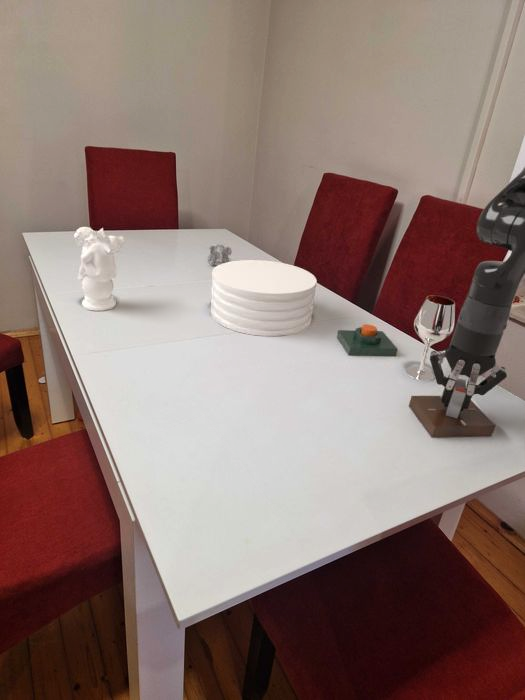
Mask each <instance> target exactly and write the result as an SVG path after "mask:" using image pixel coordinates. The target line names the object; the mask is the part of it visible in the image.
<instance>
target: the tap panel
mask: <svg viewBox="0 0 525 700" xmlns="http://www.w3.org/2000/svg"><path fill="white" fill-rule="evenodd" d="M441 400H442V395H411V396H410V400H409V403H408V408H409V409H410V410H411V412H412V413H413V414H414V416H415V417H416V418H417V420H418V421H419V422H420V424H421V426H423V428H424V429H425V430H426V432H427V433H428V435H429V436H430V437H431V438H472V437H473V438H477V437H478V438H481V437H483V438H484V437H488V438H489V437H492V436H493V434H494V431H495V429H496V426H497V425H496V424H495V423H494V422H493V421H492V419H490V418H489V417H488V416H487V415H486V414H485V413H484V411H482V410H481V409H480V408H479V407H478V406H477V405H476V403H475V402H473V400H471V401H470V404H469V406H468V408H467V409H463V411H460V413H459V415H458V418H453V417H450V416H446V411H447V407H445V406H444V403H442V401H441Z"/></svg>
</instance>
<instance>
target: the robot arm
mask: <svg viewBox="0 0 525 700" xmlns="http://www.w3.org/2000/svg"><path fill="white" fill-rule="evenodd" d="M475 230H476V235H477V238H478V239H479V241H480V242H482V243H483V244H485V245H488V246H491V247H496V248H500V249H503V250H506V251H510V252H511V253H510V255H509V256H508V257H507V259H506V260H505V261H501V260H500V261H499V260H484V261H481V262H480V263H478V265H477V266H476V268H475V269H474V273H473V276H472V278H471V282H470V285H469V289H468V291H467V294H466V297H465V299H464V301H463V303H462V305H461V308H460V312H459V315H458V318H457V321H456V325H455V326H454V330H453V334H452V337H451V340H450V343H449V345H448V346H447V347H446V348H445V349H444V350H441V351H437V350H432V351H431V352H430V355H429V361H430V365H431V368H432V372H433V374H434V379H435V382H436V384H437V385H440V386H442V387H444V389H443V392H442V395H441V396H442V400H441V401H442V403H444V406H445V407H448V405H449V402H450V399H451V396H452V393H453V386H454V384H455V382H456V381H457V379H458V378H459V377H460V376H465V377H467V380H466V395H465V398H464V401H463V404H462V407H461V410H460V411H463V409H467V408H468V406H469V404H470V401H472V398H473V396H474V395H480V396H484V395H486V394H487V393H488V392H490V391H491V390H492V389H494V388H495V387H496V386H497V385H498V384H500V383H502V382H503V381H504V380H505V379H506V378H507V377H508V374H507V369H506V367H504V366H500V365H499V364H498V363H497V362H496V361H497V360H496V354H497V352H498V349H499V346H500V344H501V341H502V339H503V336H504V333H505V330H506V329H507V328H508V327H507V326H508V322H509V320H510V316H511V310H512V306H513V303H514V301H515V298H516V295H517V293H518V291H519V287H520V284H521V282H522V280H523V279H524V277H525V166H524V167H523V169H522V170H521V171H520V173H518V174H517V175H516V176H515V177H514V178H513V179H512V180H511V181H510V182H509V183H508V184H507V185H506V186H505V187H503V188H502V190H501V191H499V192H498V193H497V194H496V195H495V196H494V197H493V198H492V199H491V200H489V202H488V203H487V204H486V206H485V207H484V208H483V210H482V211H481V213H480V215H479V216H478V219H477V223H476V229H475ZM444 359H446V361H447V363H448V366H449V367H450V370H449V373H448V376H446V375H445V374H444V370H443V367H442V364H443V363H444ZM488 371H490V374H489V375H488V376H487V377H486V378H484V379H483V380H482V381H481V382H479V383H477V382H478V378H479V377H480V376H482V375H483V374H485V373H487V372H488Z"/></svg>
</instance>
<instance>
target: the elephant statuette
mask: <svg viewBox="0 0 525 700" xmlns="http://www.w3.org/2000/svg"><path fill="white" fill-rule="evenodd" d="M208 249H209V251H210V253H209V254H208V256H207V260H208V262H209V263H208V264H209V265H210V266H215V265H216V262H217V260H219V261H220V264H223V263H226V262H230V258H229V257H230V256H231V255H232V254H233V253H232V252H233V251H232V248H231V247H230V246H226V247H225V246H224V245H223V244H216V245H209V247H208Z"/></svg>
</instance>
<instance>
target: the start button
mask: <svg viewBox="0 0 525 700" xmlns="http://www.w3.org/2000/svg"><path fill="white" fill-rule="evenodd" d="M361 327H362V330H361V334H363V335H366V336H375V335H376V331H377V330H378V328H377V327H376V326H375V325H373V324H366V323H365V324H363V325H362V326H361Z"/></svg>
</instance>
